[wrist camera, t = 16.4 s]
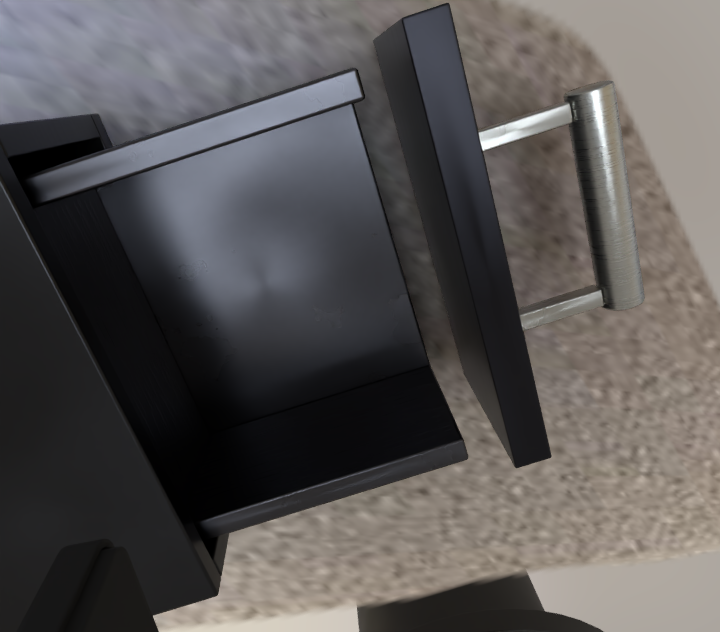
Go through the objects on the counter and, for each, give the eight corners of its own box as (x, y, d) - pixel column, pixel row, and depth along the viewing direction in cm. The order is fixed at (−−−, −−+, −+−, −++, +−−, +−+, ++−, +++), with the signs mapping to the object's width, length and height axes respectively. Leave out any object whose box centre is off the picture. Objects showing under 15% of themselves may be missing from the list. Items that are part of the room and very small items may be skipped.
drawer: (538, -16, 21) (642, -62, 14) (599, 332, 25) (697, 413, 19) (62, 143, 21) (-44, 166, 15) (209, 454, 26) (177, 573, 20)
